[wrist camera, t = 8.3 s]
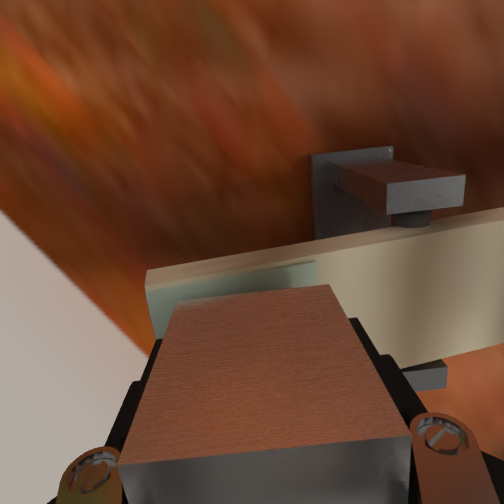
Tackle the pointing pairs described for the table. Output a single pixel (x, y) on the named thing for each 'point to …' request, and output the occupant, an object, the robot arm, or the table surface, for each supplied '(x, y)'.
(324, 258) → the beam
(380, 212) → the stand
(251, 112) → the table surface
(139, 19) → the table surface
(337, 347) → the block
